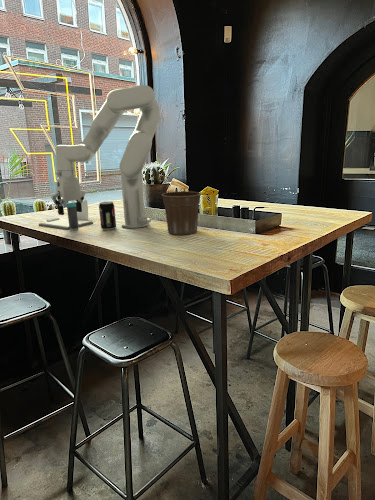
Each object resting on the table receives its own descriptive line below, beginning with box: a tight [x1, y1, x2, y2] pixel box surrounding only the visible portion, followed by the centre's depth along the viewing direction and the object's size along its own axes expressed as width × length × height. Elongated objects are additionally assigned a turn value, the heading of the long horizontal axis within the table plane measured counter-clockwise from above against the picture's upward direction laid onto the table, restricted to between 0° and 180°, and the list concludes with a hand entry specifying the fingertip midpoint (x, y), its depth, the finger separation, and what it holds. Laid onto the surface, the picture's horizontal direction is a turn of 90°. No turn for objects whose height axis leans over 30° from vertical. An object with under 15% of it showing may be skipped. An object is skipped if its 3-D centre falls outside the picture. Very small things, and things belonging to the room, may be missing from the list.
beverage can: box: [98, 201, 117, 231], centre depth 165 cm, size 7×7×12 cm
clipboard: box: [38, 217, 94, 231], centre depth 180 cm, size 22×15×2 cm
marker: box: [65, 201, 80, 232], centre depth 166 cm, size 4×4×12 cm
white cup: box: [71, 198, 89, 221], centre depth 192 cm, size 8×8×10 cm
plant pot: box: [161, 190, 202, 236], centre depth 153 cm, size 16×16×16 cm
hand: (70, 213), depth 166 cm, fingers open, 9 cm apart
